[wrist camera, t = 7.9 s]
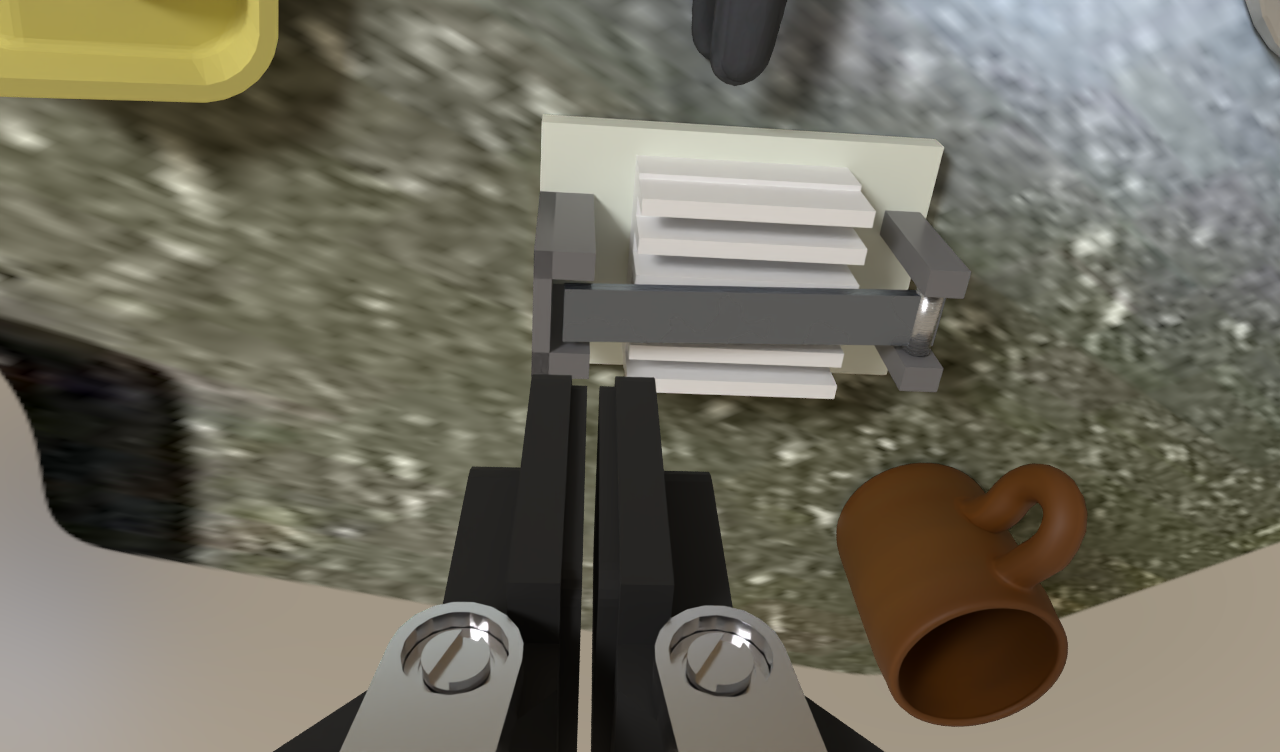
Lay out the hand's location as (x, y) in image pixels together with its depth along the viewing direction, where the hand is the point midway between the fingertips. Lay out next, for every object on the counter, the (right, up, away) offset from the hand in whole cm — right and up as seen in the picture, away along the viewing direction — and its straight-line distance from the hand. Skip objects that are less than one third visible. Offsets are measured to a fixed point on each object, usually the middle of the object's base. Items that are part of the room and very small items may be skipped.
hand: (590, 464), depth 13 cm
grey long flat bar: (+5, +4, +20) cm, 21 cm away
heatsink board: (+4, +6, +25) cm, 26 cm away
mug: (+15, -4, +32) cm, 35 cm away
